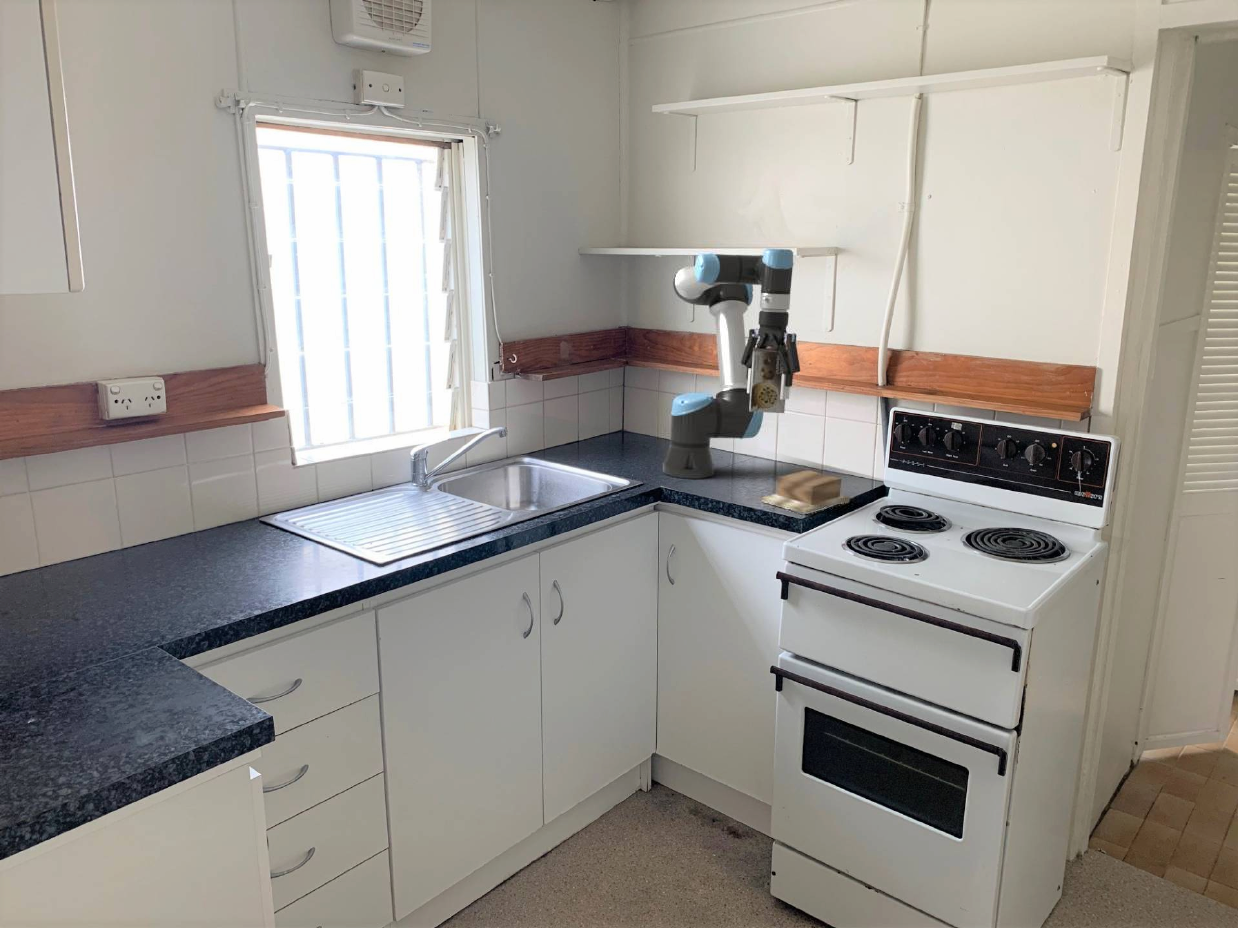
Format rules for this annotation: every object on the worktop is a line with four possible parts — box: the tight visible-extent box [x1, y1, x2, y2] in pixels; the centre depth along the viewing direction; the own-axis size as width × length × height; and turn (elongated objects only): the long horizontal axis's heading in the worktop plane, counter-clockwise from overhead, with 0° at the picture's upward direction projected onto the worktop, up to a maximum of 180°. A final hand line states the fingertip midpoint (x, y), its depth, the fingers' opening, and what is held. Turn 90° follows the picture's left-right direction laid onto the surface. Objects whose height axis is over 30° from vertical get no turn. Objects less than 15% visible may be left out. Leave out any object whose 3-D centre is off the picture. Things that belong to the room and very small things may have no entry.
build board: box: [761, 492, 851, 513], centre depth 245 cm, size 14×20×2 cm
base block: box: [776, 469, 842, 505], centre depth 245 cm, size 11×13×5 cm
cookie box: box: [749, 347, 788, 414], centre depth 239 cm, size 9×6×16 cm
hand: (767, 395), depth 240 cm, fingers closed on cookie box, 10 cm apart
